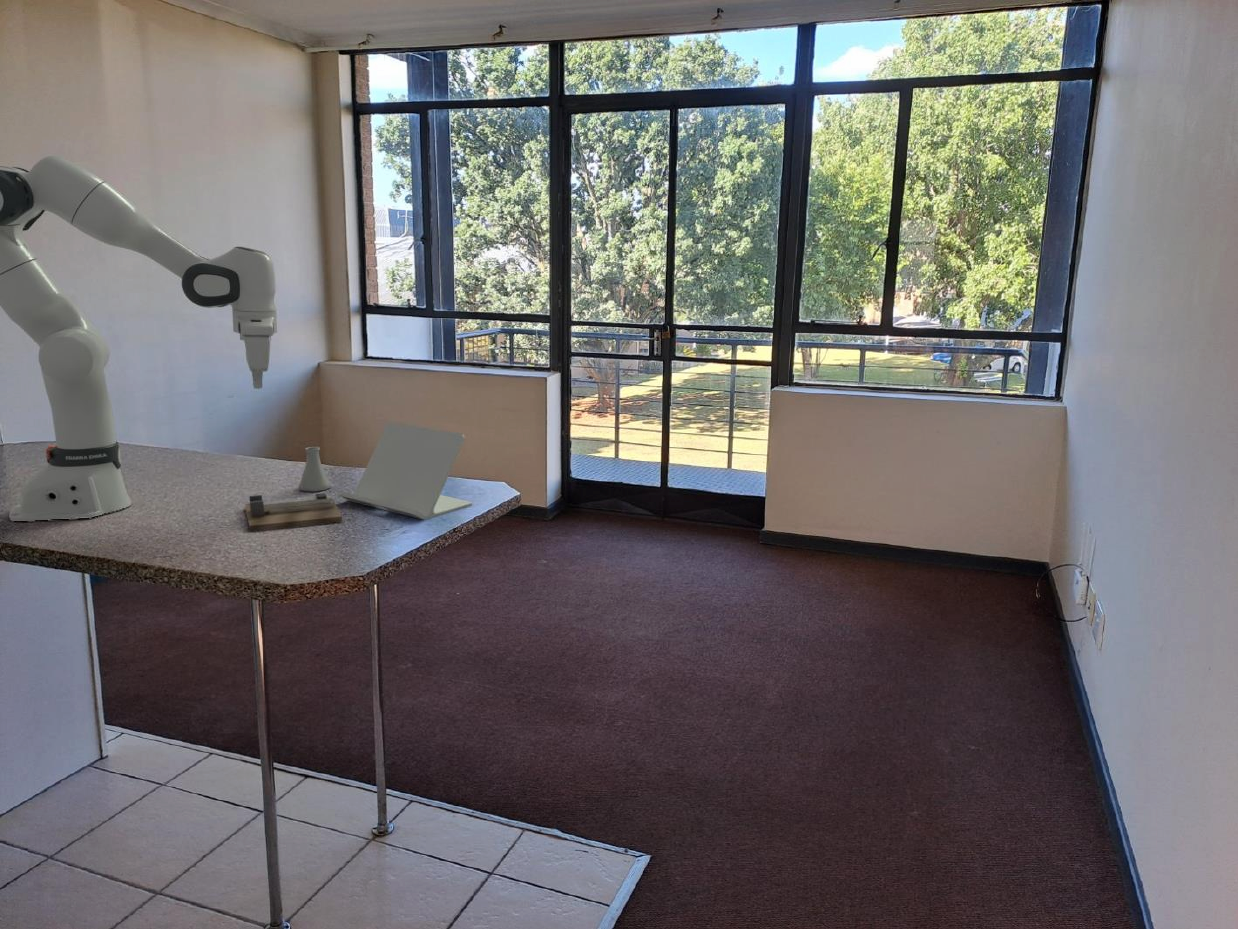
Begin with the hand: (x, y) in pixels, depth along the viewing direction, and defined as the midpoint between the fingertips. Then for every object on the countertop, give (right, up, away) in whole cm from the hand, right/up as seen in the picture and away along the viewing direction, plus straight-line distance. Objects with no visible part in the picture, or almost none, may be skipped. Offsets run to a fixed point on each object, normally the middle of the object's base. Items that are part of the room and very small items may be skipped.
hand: (257, 387), depth 193 cm
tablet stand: (+31, -26, +6) cm, 41 cm away
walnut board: (+9, -28, -4) cm, 30 cm away
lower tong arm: (+10, -27, -5) cm, 29 cm away
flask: (+6, -23, +18) cm, 30 cm away
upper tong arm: (+9, -26, -5) cm, 28 cm away
